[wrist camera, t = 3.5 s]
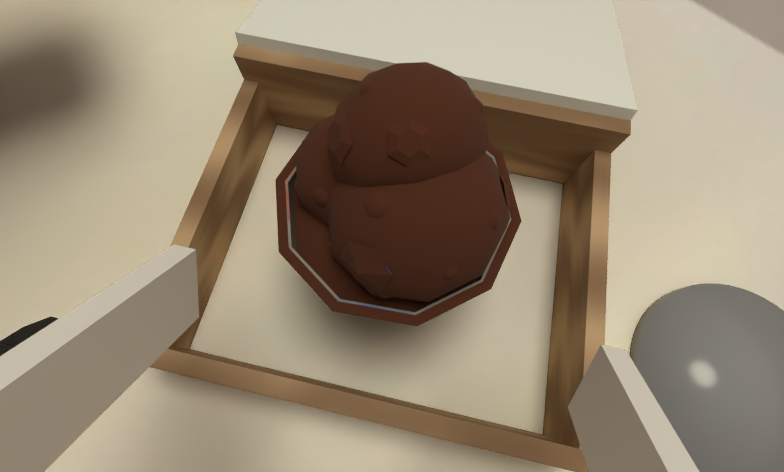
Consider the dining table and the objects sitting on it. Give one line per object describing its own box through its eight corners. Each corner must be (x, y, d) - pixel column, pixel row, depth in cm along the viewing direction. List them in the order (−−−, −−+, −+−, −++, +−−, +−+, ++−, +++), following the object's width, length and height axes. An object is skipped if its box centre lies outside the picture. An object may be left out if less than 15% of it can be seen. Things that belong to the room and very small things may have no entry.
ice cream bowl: (286, 226, 27) (178, 61, 13) (428, 166, 29) (472, -37, 14) (348, 372, 24) (296, 370, 9) (503, 293, 25) (652, 193, 11)
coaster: (601, 305, 25) (607, 302, 25) (764, 271, 26) (775, 268, 26) (681, 516, 21) (692, 522, 21) (870, 467, 22) (887, 470, 22)
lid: (336, -60, 37) (326, -158, 30) (589, -14, 35) (639, -107, 28) (267, 111, 30) (233, 34, 23) (577, 174, 29) (637, 112, 22)
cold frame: (268, 111, 30) (238, 43, 24) (577, 174, 29) (630, 120, 22) (167, 362, 24) (91, 358, 17) (558, 457, 22) (625, 489, 16)
